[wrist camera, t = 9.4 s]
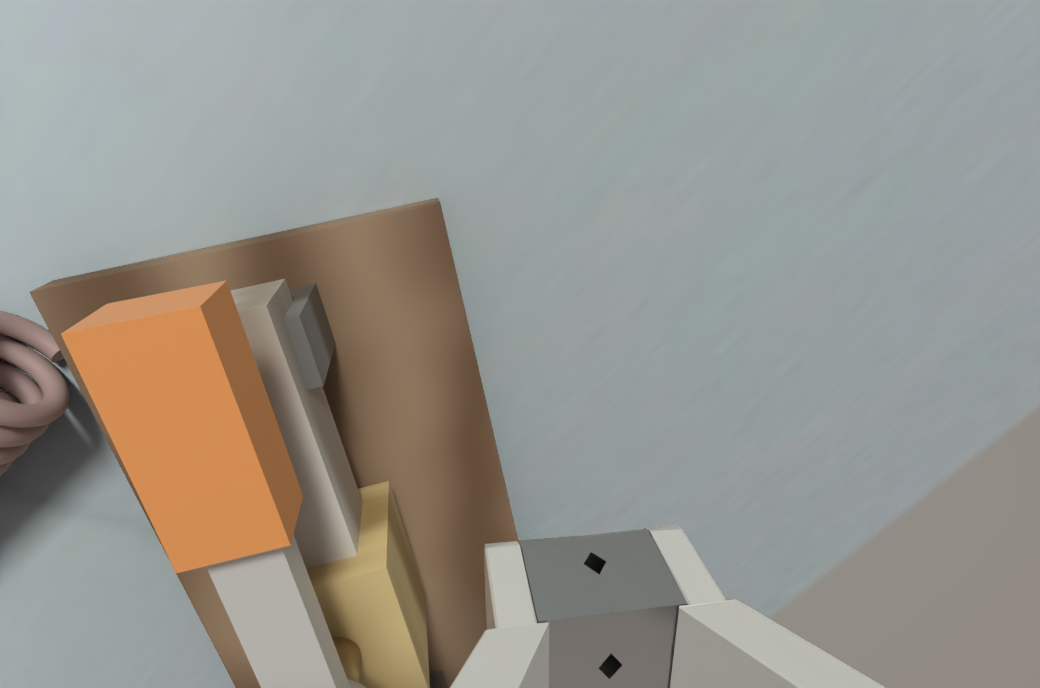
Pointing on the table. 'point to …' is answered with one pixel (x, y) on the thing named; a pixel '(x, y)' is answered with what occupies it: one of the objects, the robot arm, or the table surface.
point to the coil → (27, 386)
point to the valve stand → (354, 429)
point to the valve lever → (211, 467)
